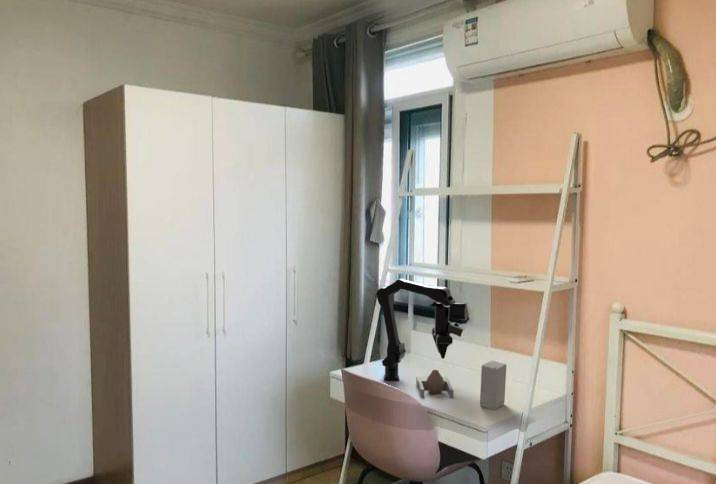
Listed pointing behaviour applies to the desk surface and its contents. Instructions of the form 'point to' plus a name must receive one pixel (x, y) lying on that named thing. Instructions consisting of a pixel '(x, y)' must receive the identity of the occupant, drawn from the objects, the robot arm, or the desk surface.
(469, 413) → the desk surface
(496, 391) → the skincare box
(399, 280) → the robot arm
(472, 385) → the desk surface
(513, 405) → the desk surface
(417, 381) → the green u-shaped bracket
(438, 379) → the brown oval solid
